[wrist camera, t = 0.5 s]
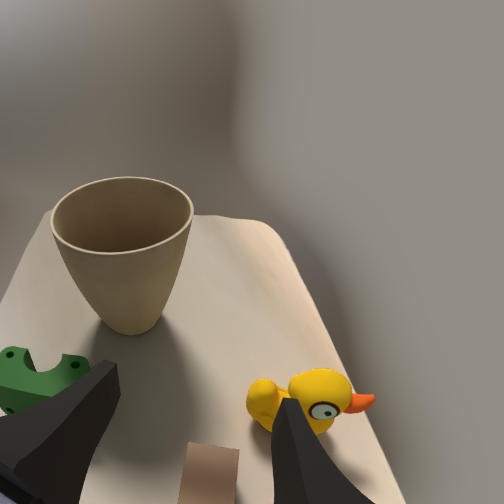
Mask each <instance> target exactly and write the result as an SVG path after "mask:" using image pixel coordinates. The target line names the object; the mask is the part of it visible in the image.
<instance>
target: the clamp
mask: <svg viewBox="0 0 504 504" xmlns="http://www.w3.org/2000/svg"><path fill="white" fill-rule="evenodd" d="M89 371H90V366H89V362H88V360H87V359H86V358H84V357H82V356H76V355H67V354H62V359H61V361H60V363H59V364H58V365H57V366H56V367H55V368H53V369H52V370H49V371H46V372H37V371H36V369H35V366H34V364H33V361H32V359H31V356H30V353H29V351H28V349H25V348H19V347H13V346H11V347H7V348H5V349H3V350H2V352H1V353H0V407H1V409H2V410H3V411H4V412H5V413H6V414H7V415H10V414H13V413H16V412H19V411H22V410H25V409H27V408H30V407H32V406H34V405H37V404H39V403H41V402H43V401H45V400H47V399H49V398H50V397H52V396H54V395H55V394H57V393H59V392H60V391H62V390H63V389H65V388H67V387H68V386H69V385H71V384H72V383H74V382H75V381H77V380H78V379H79V378H81V377H82V376H83V375H85V374H86V373H87V372H89Z"/></svg>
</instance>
